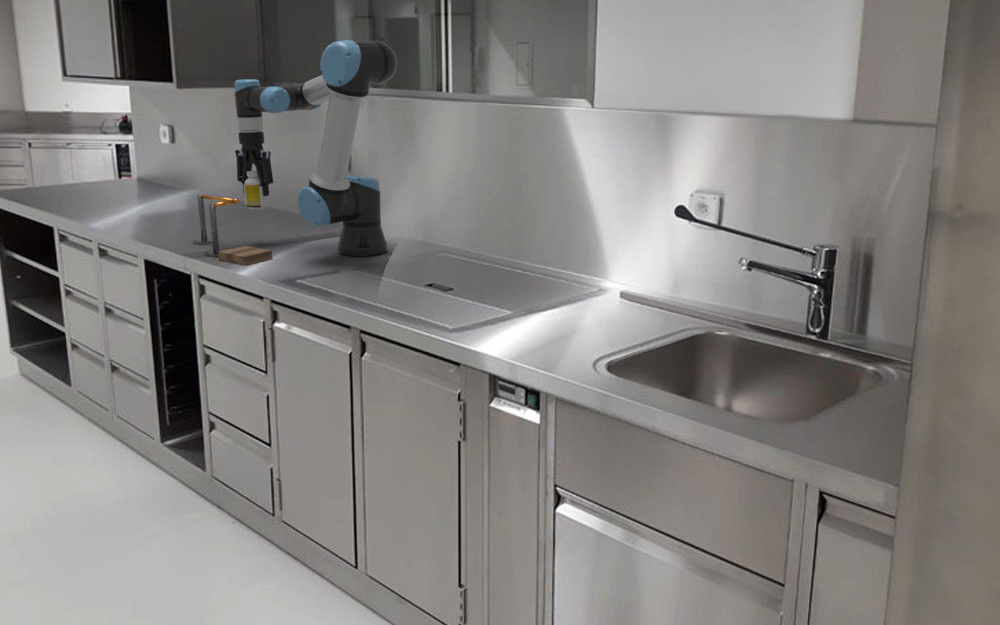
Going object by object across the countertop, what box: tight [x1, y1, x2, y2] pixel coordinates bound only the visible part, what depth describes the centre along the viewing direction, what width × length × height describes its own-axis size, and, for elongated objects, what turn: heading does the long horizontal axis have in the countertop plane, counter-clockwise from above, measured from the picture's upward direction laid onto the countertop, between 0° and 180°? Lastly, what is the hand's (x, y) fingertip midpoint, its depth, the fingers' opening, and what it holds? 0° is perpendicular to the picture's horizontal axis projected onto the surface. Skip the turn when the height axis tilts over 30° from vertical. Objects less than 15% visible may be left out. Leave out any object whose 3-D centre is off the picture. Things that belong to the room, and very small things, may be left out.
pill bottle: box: [245, 169, 269, 210], centre depth 290 cm, size 6×6×12 cm
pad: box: [218, 245, 273, 266], centre depth 274 cm, size 12×10×2 cm
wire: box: [192, 193, 240, 258], centre depth 286 cm, size 22×14×16 cm, turn 55°
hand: (257, 205), depth 291 cm, fingers closed on pill bottle, 6 cm apart
